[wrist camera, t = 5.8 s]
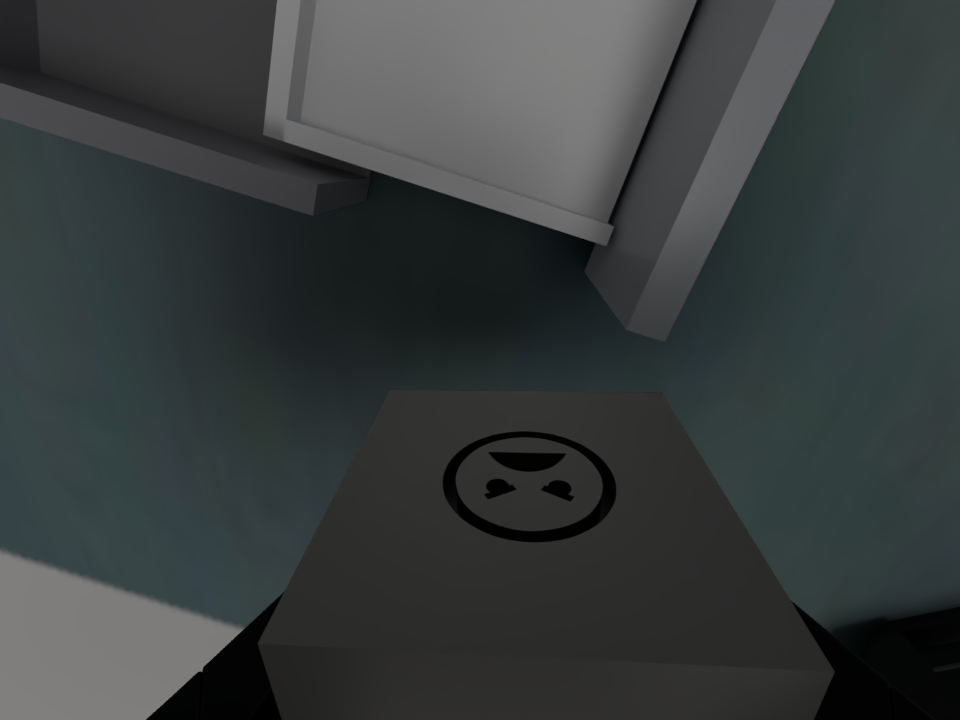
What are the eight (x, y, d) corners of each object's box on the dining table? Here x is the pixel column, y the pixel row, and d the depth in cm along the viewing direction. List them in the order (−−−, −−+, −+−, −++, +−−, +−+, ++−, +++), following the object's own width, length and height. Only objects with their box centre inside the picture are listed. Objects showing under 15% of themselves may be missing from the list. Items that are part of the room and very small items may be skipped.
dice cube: (389, 389, 9) (257, 644, 4) (661, 392, 8) (834, 672, 4) (411, 581, 11) (337, 893, 6) (631, 590, 10) (723, 928, 6)
